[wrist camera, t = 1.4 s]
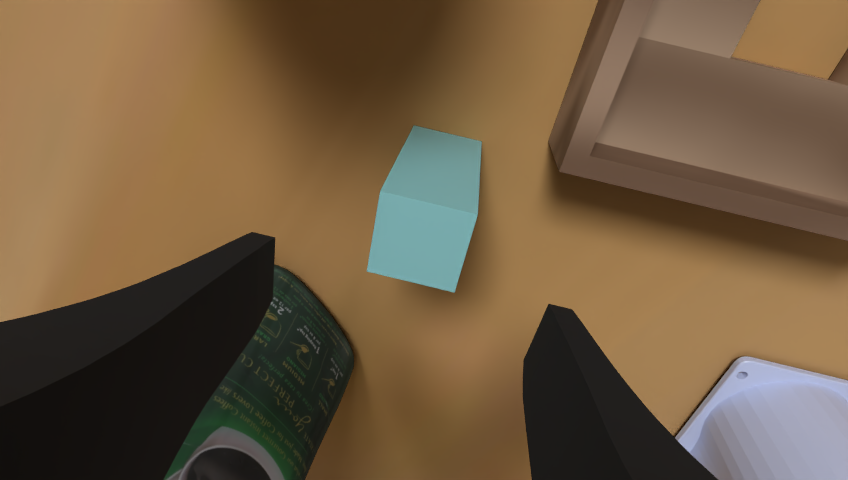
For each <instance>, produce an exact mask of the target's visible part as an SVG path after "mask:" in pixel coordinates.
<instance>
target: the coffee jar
mask: <svg viewBox="0 0 848 480" xmlns="http://www.w3.org/2000/svg"><path fill="white" fill-rule="evenodd" d="M353 367H354V356H353V352H352V349H351V346H350V345H349V343H348V341H347V339H346V337H345V335H344V334H343V332H342V331H341V329H340V328H339V326H338V325H337V323H336V322H335V320H334V319H333V317H332V316H331V315H330V314H329V312H328V311H327V310H326V309H325V307H324V306H323V305H322V304H321V303H320V301H319V300H318V299H317V298H316V297H315V296H314V295H313V294H312V292H311V291H310V290H309V289H308V288H307V287H306V286H305V285H304V284H303V283H302V282H301V281H300V280H299V279H298V278H296V277H295V276H294V275H293V274H292V273H291V272H289V271H288V270H286V269H284V268H282V267H280V266H278V265H274V282H273V300H272V302H271V304H270V306H269V308H268V310H267V312H266V314H265V316H264V318H263V320H262V322H261V324H260V326H259V328H258V329H257V331H256V333H255V334H254V336H253V337H252V339H251V340H250V342H249V343H248V345H247V346H246V347H245V349H244V350H243V352H242V353H241V355H240V356H239V358H238V359H237V360H236V362H235V363H234V365H233V366H232V368H231V369H230V370H229V372H228V373H227V375H226V376H225V378H224V379H223V380H222V382H221V383H220V385H219V386H218V388H217V389H216V390H215V392H214V393H213V395H212V396H211V398H210V399H209V400H208V402H207V404H206V405H205V407H204V408H203V410H202V411H201V413H200V414H199V416H198V418H197V419H196V421H195V423H194V425H193V427H192V428H191V430H190V432H189V434H188V435H187V437H186V439H185V441H184V443H183V444H182V446H181V448H180V450H179V452H178V453H177V455H176V457H175V459H174V461H173V463H172V465H171V467H170V468H169V470H168V472H167V474H166V476H165V478H164V480H305V478H306V476H307V473H308V471H309V469H310V466H311V464H312V462H313V460H314V457H315V455H316V453H317V450H318V448H319V446H320V444H321V442H322V440H323V438H324V435H325V433H326V431H327V429H328V427H329V425H330V423H331V421H332V418H333V416H334V414H335V412H336V410H337V408H338V406H339V403H340V401H341V399H342V396H343V394H344V392H345V389H346V386H347V384H348V381H349V379H350V376H351V373H352V370H353Z"/></svg>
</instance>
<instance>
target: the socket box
mask: <svg viewBox="0 0 848 480" xmlns="http://www.w3.org/2000/svg"><path fill="white" fill-rule="evenodd" d="M759 2H760V0H599V1H598V3H597V6H596V9H595V12H594V15H593V17H592V20H591V23H590V26H589V29H588V31H587V34H586V37H585V40H584V43H583V45H582V48H581V51H580V54H579V57H578V59H577V62H576V65H575V68H574V71H573V73H572V76H571V79H570V82H569V85H568V87H567V90H566V93H565V96H564V99H563V101H562V104H561V107H560V110H559V113H558V115H557V118H556V121H555V124H554V127H553V129H552V132H551V135H550V138H549V144H550V147H551V150H552V153H553V156H554V159H555V161H556V164H557V167H558V170H559V172H563V173H567V174H571V175H575V176H579V177H584V178H588V179H592V180H596V181H600V182H604V183H609V184H613V185H617V186H621V187H625V188H629V189H634V190H638V191H642V192H646V193H650V194H655V195H659V196H663V197H667V198H671V199H675V200H680V201H684V202H688V203H692V204H696V205H700V206H705V207H709V208H713V209H717V210H721V211H725V212H730V213H734V214H738V215H742V216H746V217H751V218H755V219H759V220H763V221H767V222H771V223H776V224H780V225H784V226H788V227H792V228H796V229H801V230H805V231H809V232H813V233H817V234H821V235H826V236H830V237H834V238H838V239H842V240H847V241H848V50H847V51H846V53H845V55H844V56H843V58H842V59H841V61H840V62H839V64H838V65H837V67H836V69H835V70H834V72H833V73H832V75H831V76H830V78H829V79H828V80H827V79H823V78H819V77H815V76H810V75H806V74H802V73H798V72H794V71H789V70H785V69H781V68H777V67H772V66H768V65H764V64H760V63H756V62H751V61H747V60H743V59H739V58H735V57H731V56H732V54H733V52H734V50H735V48H736V46H737V44H738V42H739V40H740V38H741V37H742V35H743V33H744V31H745V29H746V27H747V25H748V23H749V21H750V19H751V17H752V15H753V14H754V12H755V10H756V8H757V6H758V4H759Z"/></svg>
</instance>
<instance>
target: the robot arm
mask: <svg viewBox="0 0 848 480" xmlns="http://www.w3.org/2000/svg"><path fill="white" fill-rule="evenodd" d="M274 255H275V237H271V236H266V235H262V234H258V233H254V232H251V233H249V234H246V235H244V236H242V237H240V238H238V239H236V240H233V241H231V242H229V243H227V244H225V245H223V246H221V247H219V248H217V249H215V250H213V251H211V252H209V253H206V254H204V255H202V256H200V257H198V258H196V259H194V260H192V261H189V262H187V263H185V264H183V265H181V266H178V267H176V268H173V269H171V270H169V271H166V272H164V273H161V274H159V275H157V276H154V277H152V278H150V279H147V280H145V281H142V282H140V283H137V284H134V285H132V286H129V287H126V288H123V289H121V290H118V291H115V292H112V293H109V294H105V295H102V296H99V297H96V298H93V299H90V300H87V301H83V302H80V303H76V304H72V305H68V306H65V307H61V308H57V309H53V310H50V311H46V312H42V313H39V314H35V315H31V316H26V317H22V318H17V319H13V320H8V321H4V322H0V480H164V478H165V476H166V474H167V472H168V470H169V468H170V467H171V465H172V463H173V461H174V459H175V457H176V455H177V453H178V452H179V450H180V448H181V446H182V444H183V443H184V441H185V439H186V437H187V435H188V434H189V432H190V430H191V428H192V427H193V425H194V423H195V421H196V419H197V418H198V416H199V414H200V413H201V411H202V410H203V408H204V407H205V405H206V404H207V402H208V400H209V399H210V398H211V396H212V395H213V393H214V392H215V390H216V389H217V388H218V386H219V385H220V383H221V382H222V380H223V379H224V378H225V376H226V375H227V373H228V372H229V370H230V369H231V368H232V366H233V365H234V363H235V362H236V360H237V359H238V358H239V356H240V355H241V353H242V352H243V350H244V349H245V347H246V346H247V345H248V343H249V342H250V340H251V339H252V337H253V336H254V334H255V333H256V331H257V329H258V328H259V326H260V324H261V322H262V320H263V318H264V316H265V314H266V312H267V310H268V308H269V306H270V304H271V302H272V300H273V282H274ZM739 372H741V373H739ZM523 404H524V413H525V423H526V432H527V441H528V449H529V458H530V467H531V476H532V480H848V380H844V379H840V378H836V377H831V376H827V375H823V374H819V373H815V372H811V371H807V370H803V369H798V368H794V367H790V366H786V365H782V364H778V363H774V362H769V361H765V360H761V359H757V358H753V357H747V356H745V357H740V358H738V359H737V360H736V361H735V362H734V363H733V364H732V365H731V367H730V368H729V369H728V371H727V372H726V373H725V374H724V376H723V377H722V378H721V380H720V381H719V382H718V383H717V385H716V386H715V387H714V388H713V390H712V391H711V392H710V394H709V395H708V396H707V397H706V399H705V400H704V401H703V403H702V404H701V405H700V406H699V408H698V409H697V410H696V411H695V413H694V414H693V415H692V417H691V418H690V419H689V420H688V422H687V423H686V424H685V426H684V427H683V428H682V429H681V431H680V432H679V433H678V434H677V436H676V437H675V438H674V437H673V435H672V434H671V433H670V432H669V431H668V430H667V429H666V428H665V427H664V426H663V425H662V424H661V423H660V422H659V421H658V420H657V419H656V417H655V416H654V415H653V414H652V413H651V412H650V411H649V410H648V408H647V407H646V406H645V405H644V404H643V403H642V401H641V400H640V399H639V398H638V397H637V395H636V394H635V393H634V392H633V391H632V389H631V388H630V387H629V386H628V384H627V383H626V382H625V381H624V379H623V378H622V377H621V376H620V374H619V373H618V372H617V370H616V369H615V368H614V366H613V365H612V364H611V362H610V361H609V360H608V358H607V357H606V356H605V354H604V353H603V352H602V350H601V349H600V347H599V346H598V345H597V343H596V342H595V340H594V339H593V338H592V336H591V335H590V333H589V332H588V331H587V329H586V328H585V326H584V325H583V323H582V322H581V321H580V319H579V318H578V317H577V315H576V314H575V313H574V311H573V310H572V309H568V308H564V307H560V306H556V305H551V304H548V307H547V309H546V311H545V313H544V316H543V318H542V320H541V322H540V325H539V327H538V329H537V331H536V334H535V336H534V338H533V340H532V343H531V345H530V347H529V349H528V352H527V354H526V356H525V358H524V365H523Z"/></svg>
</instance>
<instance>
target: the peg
mask: <svg viewBox="0 0 848 480" xmlns="http://www.w3.org/2000/svg"><path fill="white" fill-rule="evenodd" d="M481 145H482V141H477V140H473V139H469V138H465V137H461V136H456V135H452V134H448V133H444V132H440V131H436V130H431V129H427V128H423V127H419V126H415V125H414V126H413V128H412V130H411V132H410V134H409V136H408V138H407V140H406V142H405V144H404V146H403V148H402V150H401V152H400V154H399V155H398V157H397V159H396V161H395V163H394V165H393V167H392V169H391V171H390V173H389V175H388V177H387V179H386V181H385V183H384V185H383V187H382V189H381V191H380V196H379V202H378V208H377V214H376V220H375V225H374V231H373V237H372V243H371V249H370V255H369V261H368V267H367V272H371V273H376V274H380V275H384V276H388V277H392V278H396V279H400V280H405V281H409V282H413V283H417V284H421V285H425V286H429V287H434V288H438V289H442V290H446V291H450V292H454V293H455V289H456V286H457V283H458V279H459V276H460V273H461V269H462V266H463V262H464V259H465V256H466V252H467V249H468V246H469V242H470V239H471V236H472V232H473V229H474V226H475V222H476V219H477V216H478V202H479V183H480V164H481Z"/></svg>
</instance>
